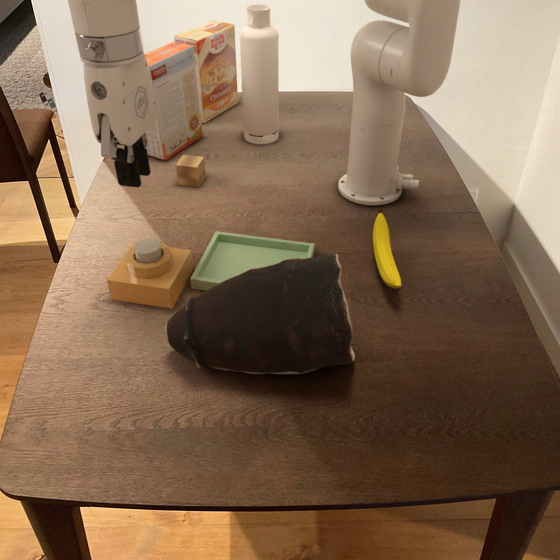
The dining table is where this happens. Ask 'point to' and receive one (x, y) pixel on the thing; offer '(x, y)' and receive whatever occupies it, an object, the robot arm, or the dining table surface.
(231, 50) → the coffeecake box
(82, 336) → the dining table surface
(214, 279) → the tray
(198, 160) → the block
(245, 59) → the bottle
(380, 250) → the banana
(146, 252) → the grey button cap
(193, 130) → the cracker box
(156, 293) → the button base
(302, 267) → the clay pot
